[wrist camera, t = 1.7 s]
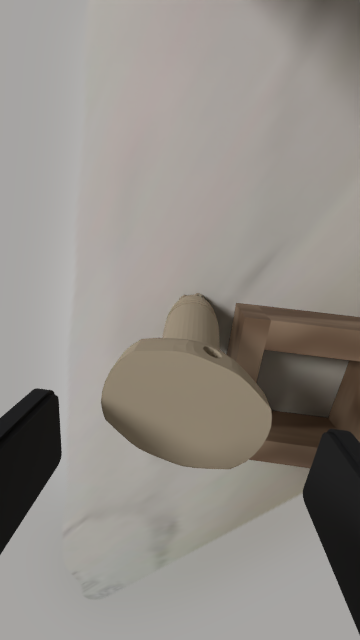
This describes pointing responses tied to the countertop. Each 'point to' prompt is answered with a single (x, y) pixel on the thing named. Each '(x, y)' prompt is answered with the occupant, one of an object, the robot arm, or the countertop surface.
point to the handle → (187, 394)
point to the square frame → (308, 339)
